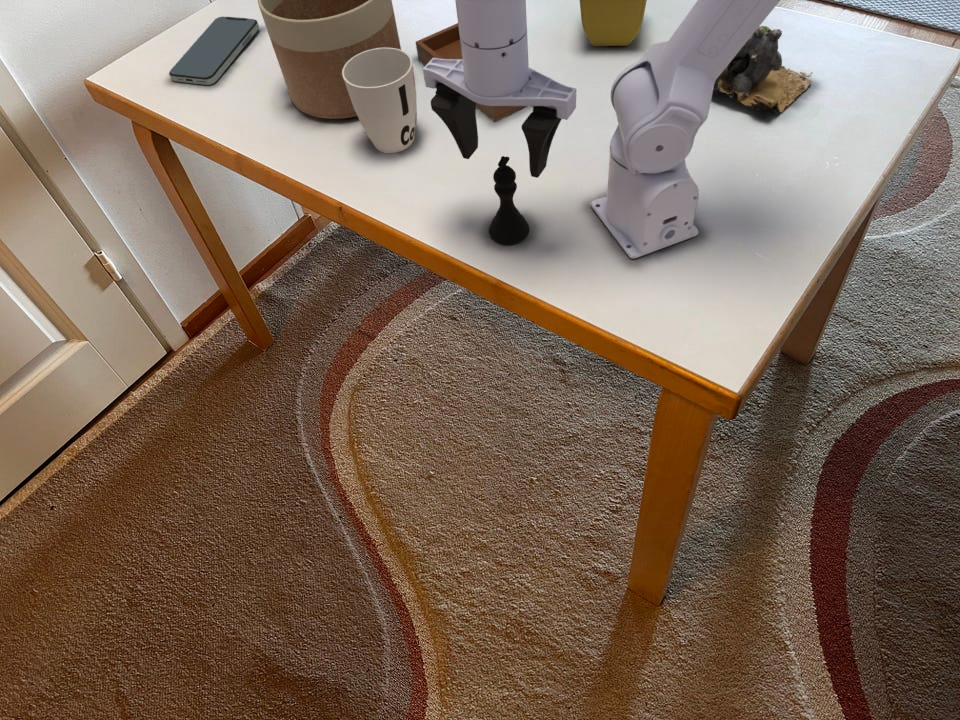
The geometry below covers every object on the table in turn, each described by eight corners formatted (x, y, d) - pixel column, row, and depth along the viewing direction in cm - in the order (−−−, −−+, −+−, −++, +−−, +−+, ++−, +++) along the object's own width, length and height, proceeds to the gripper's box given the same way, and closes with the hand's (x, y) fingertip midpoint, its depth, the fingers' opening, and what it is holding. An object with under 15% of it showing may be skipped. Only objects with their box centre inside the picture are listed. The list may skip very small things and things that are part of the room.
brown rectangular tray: (544, 97, 92) (544, 79, 90) (494, 122, 90) (493, 104, 88) (464, 38, 102) (462, 20, 100) (418, 59, 100) (415, 41, 98)
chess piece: (537, 227, 78) (534, 152, 70) (512, 251, 76) (506, 177, 68) (506, 211, 80) (499, 136, 72) (480, 234, 78) (471, 160, 70)
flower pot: (581, 20, 102) (582, -46, 95) (643, 19, 101) (649, -48, 93) (577, 55, 97) (578, -12, 90) (643, 54, 96) (649, -14, 88)
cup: (416, 162, 87) (401, 89, 79) (353, 159, 88) (332, 86, 80) (432, 121, 91) (419, 48, 83) (372, 119, 93) (354, 46, 85)
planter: (418, 55, 101) (400, -47, 90) (390, 125, 92) (367, 21, 80) (312, 54, 103) (282, -45, 92) (275, 122, 94) (237, 20, 83)
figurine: (813, 84, 88) (841, 18, 79) (765, 135, 86) (788, 73, 77) (744, 48, 92) (763, -19, 83) (696, 96, 90) (711, 32, 81)
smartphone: (164, 73, 102) (216, 14, 109) (170, 84, 103) (221, 25, 111) (210, 78, 100) (259, 18, 107) (215, 89, 101) (263, 28, 109)
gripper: (592, 21, 60) (587, 154, 71) (442, -6, 65) (460, 122, 76) (556, 66, 56) (557, 199, 67) (401, 34, 61) (426, 162, 72)
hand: (503, 161), depth 71 cm, fingers open, 7 cm apart
